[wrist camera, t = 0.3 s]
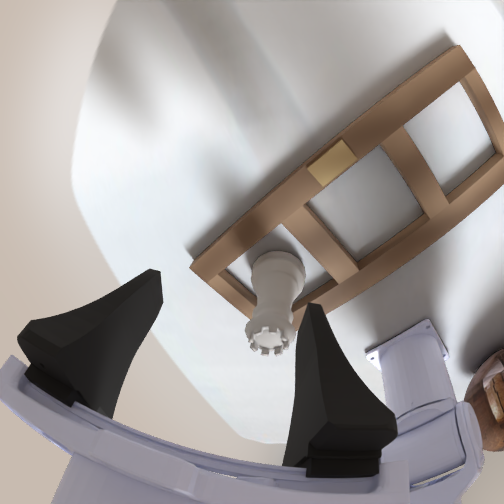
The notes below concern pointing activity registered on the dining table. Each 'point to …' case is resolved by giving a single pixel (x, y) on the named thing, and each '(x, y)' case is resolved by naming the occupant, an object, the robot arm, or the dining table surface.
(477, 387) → the wooden sphere
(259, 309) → the rook chess piece
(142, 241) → the dining table surface
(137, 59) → the dining table surface
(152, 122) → the dining table surface
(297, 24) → the dining table surface
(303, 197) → the brown wooden flat frame
